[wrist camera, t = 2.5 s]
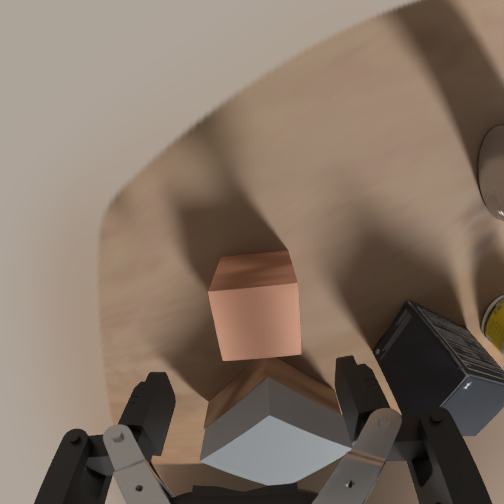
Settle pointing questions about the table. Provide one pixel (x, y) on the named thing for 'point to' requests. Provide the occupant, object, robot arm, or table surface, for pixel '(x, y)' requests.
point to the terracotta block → (256, 306)
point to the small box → (440, 369)
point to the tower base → (277, 372)
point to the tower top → (275, 436)
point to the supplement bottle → (495, 324)
